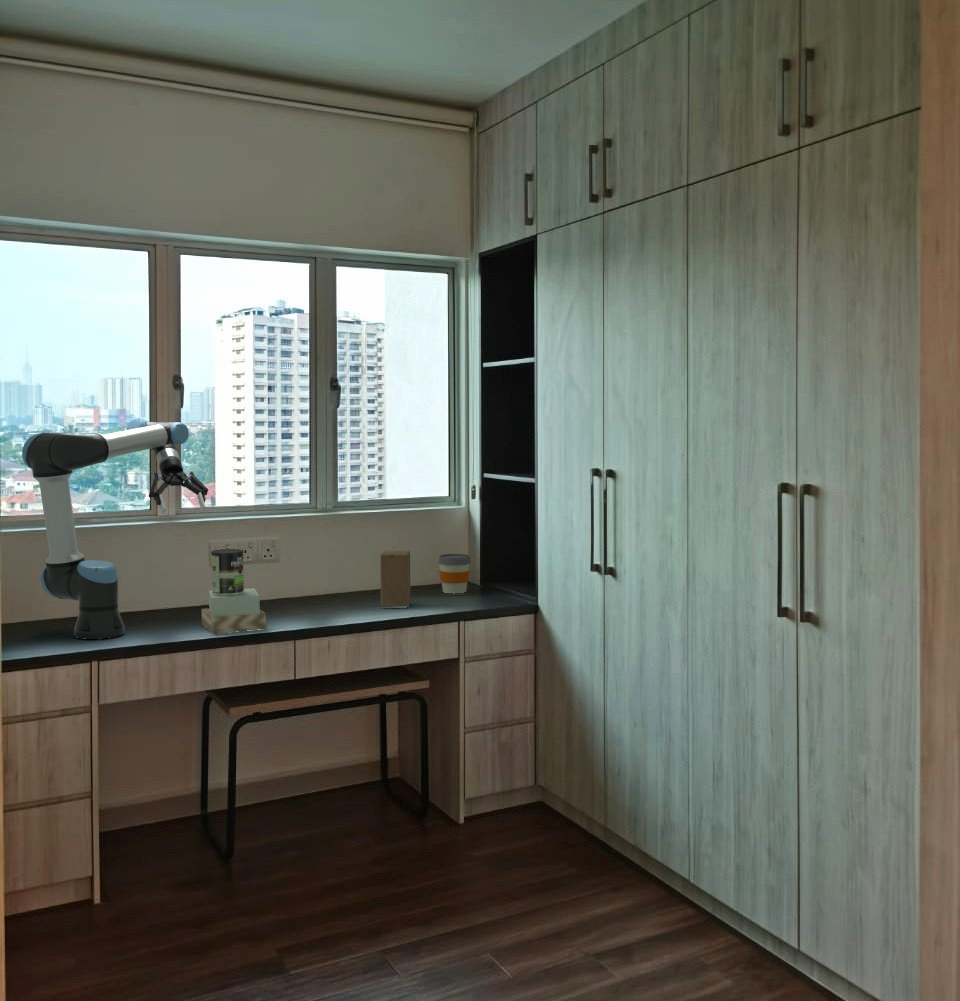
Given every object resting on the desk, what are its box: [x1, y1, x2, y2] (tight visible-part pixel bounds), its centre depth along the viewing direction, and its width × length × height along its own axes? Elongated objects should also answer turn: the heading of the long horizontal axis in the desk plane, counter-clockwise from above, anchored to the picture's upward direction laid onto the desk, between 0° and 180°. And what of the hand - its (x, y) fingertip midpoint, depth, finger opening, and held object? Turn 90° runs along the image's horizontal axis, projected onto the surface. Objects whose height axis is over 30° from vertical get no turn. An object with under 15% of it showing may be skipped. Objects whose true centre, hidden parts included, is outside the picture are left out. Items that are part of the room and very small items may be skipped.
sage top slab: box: [208, 588, 261, 617], centre depth 334 cm, size 15×15×6 cm
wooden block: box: [379, 550, 411, 608], centre depth 371 cm, size 10×10×20 cm
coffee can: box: [210, 548, 245, 596], centre depth 333 cm, size 10×10×14 cm
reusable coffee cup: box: [438, 553, 472, 594], centre depth 397 cm, size 13×13×15 cm
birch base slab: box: [201, 608, 267, 635], centre depth 335 cm, size 17×17×6 cm
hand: (184, 510), depth 345 cm, fingers open, 13 cm apart
